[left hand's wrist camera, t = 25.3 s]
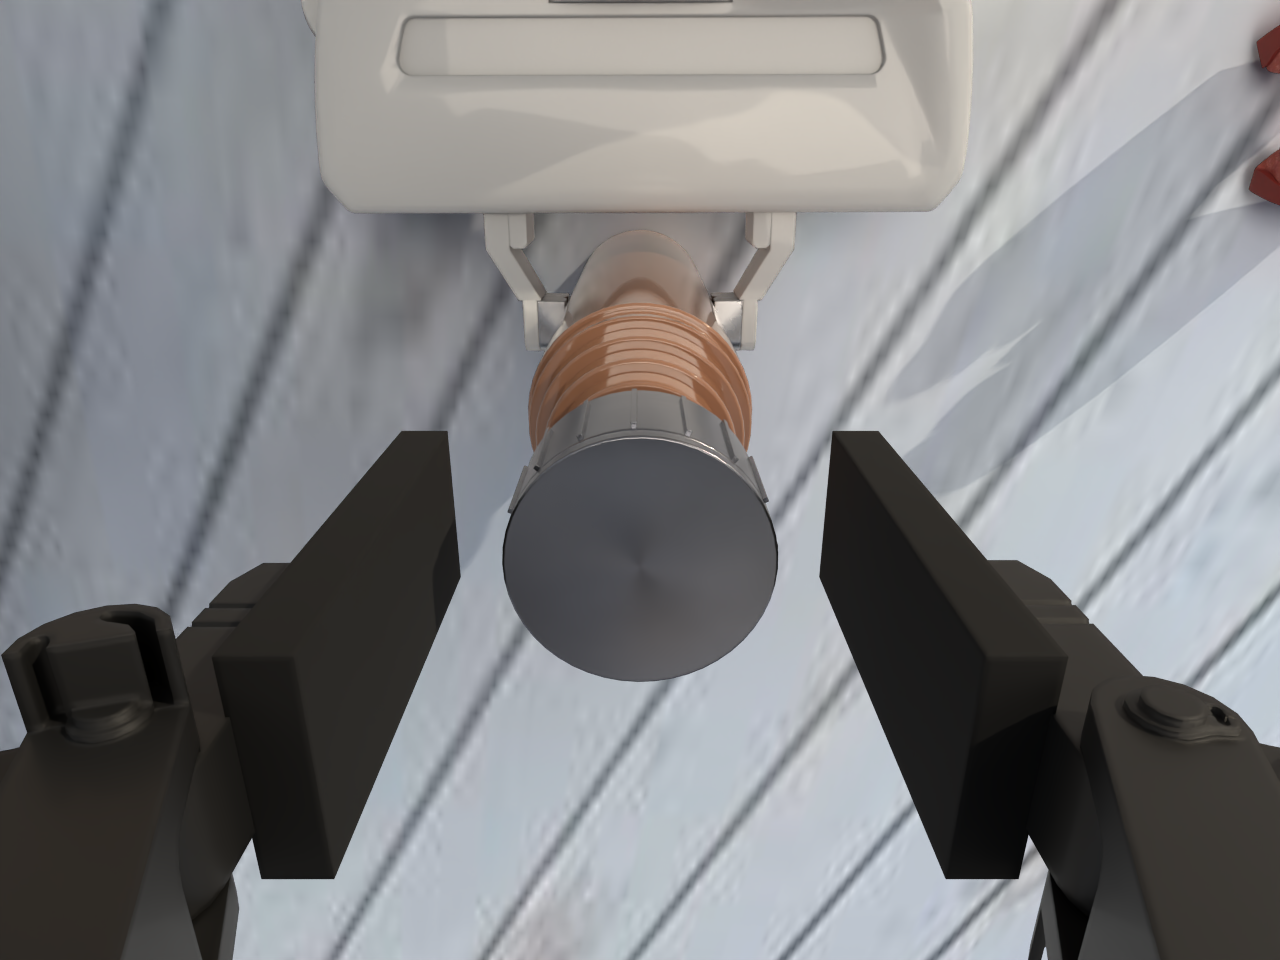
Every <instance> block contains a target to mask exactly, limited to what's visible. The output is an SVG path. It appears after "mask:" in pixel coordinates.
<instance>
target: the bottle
mask: <svg viewBox="0 0 1280 960" xmlns="http://www.w3.org/2000/svg"><path fill="white" fill-rule="evenodd" d="M632 389H637V390H645V391H658V392H663V393H668V394H672V395H676V396H679V397H681V395H683V396H686V399H687V400H690V401H692V402H694V403H696V404H698V405H700V406H702V407H704V408H705V409H707V410H708V411H710V412H711V413H713V414H714V415H716V416H717V417H718V418H719V419H720V420H721V421H722V420H723V419H724V420H726V421H727V423H728V426H729V428H730V429H731V431H732V432H733V433H734V434H735V435H736V437H737V438H738V439H739V441H740V442H741V444H742V446H743V447H744V449H745V450H746V453H747V450H748V446H749V441H750V436H751V422H752V421H751V420H752V400H751V392H750V388H749V383H748V380H747V377H746V374H745V371H744V368H743V366H742V364H741V362H740V360H739V358H738V356H737V354H736V351H735V349H734V347H733V345H732V343H731V341H730V339H729V337H728V334H727V332H726V330H725V328H724V326H723V324H722V322H721V320H720V317H719V315H718V313H717V311H716V309H715V307H714V305H713V303H712V300H711V298H710V296H709V294H708V292H707V290H706V288H705V286H704V283H703V281H702V279H701V277H700V275H699V273H698V271H697V269H696V267H695V265H694V263H693V261H692V259H691V257H690V256H689V255H688V253H687V252H686V251H685V250H684V249H683V248H682V247H681V246H680V245H679V244H678V243H677V242H675V241H674V240H672V239H671V238H669V237H667V236H665V235H663V234H660V233H657V232H654V231H648V230H633V231H627V232H623V233H620V234H617V235H615V236H613V237H611V238H609V239H608V240H606V241H605V242H603V243H602V244H601V245H600V246H599V247H598V248H597V249H596V250H595V251H594V252H593V253H592V255H591V256H590V257H589V259H588V261H587V263H586V265H585V267H584V269H583V271H582V273H581V275H580V277H579V279H578V282H577V284H576V286H575V288H574V290H573V292H572V294H571V297H570V299H569V301H568V303H567V305H566V307H565V309H564V311H563V314H562V316H561V318H560V320H559V322H558V324H557V326H556V328H555V331H554V333H553V335H552V337H551V339H550V341H549V343H548V345H547V348H546V350H545V352H544V354H543V356H542V358H541V360H540V363H539V365H538V367H537V370H536V372H535V375H534V377H533V380H532V385H531V389H530V393H529V403H528V416H529V434H530V439H531V445H532V449H533V452H535V450H536V448H537V446H538V445H539V443H540V442H541V440H542V439H543V436H544V433H545V430H546V429H547V428H548V427H550V428H552V427H553V426H554V425H555V423H557V422H558V421H559V420H560V419H561V418H563V417H564V416H565V415H566V414H567V413H569V412H571V411H572V410H574V409H575V408H577V407H579V406H580V405H582V404H583V403H584V401H585V400H587V399H588V400H589V401H591V400H593V399H595V398H598V397H602V396H605V395H608V394H612V393H618V392H624V391H632Z"/></svg>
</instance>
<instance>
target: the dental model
mask: <svg viewBox="0 0 1280 960" xmlns="http://www.w3.org/2000/svg"><path fill="white" fill-rule="evenodd" d="M1257 48H1258V52H1259V57H1260V61H1261V66H1262V68H1265V67H1266V68H1267V70H1268V71H1270V72H1273V73H1279V74H1280V25H1279V26H1277V27H1276V28H1274V29H1273V30H1271V31H1270V32H1269V33H1267V34H1266V35H1265V36H1263V37H1262V38H1261V39H1259V40H1258V41H1257ZM1249 190H1250V191H1251V192H1252V193H1254V194H1256V195H1258V196H1259V197H1261V198H1263V199H1265V200H1267V201H1270V202H1272V203H1275V204H1278V205H1280V149H1279V150H1277V151H1276V152H1274V153H1273V154H1272V155H1270V156H1269V157H1268V158H1267V159H1265V160H1264V161H1263V162H1262V163H1261V164H1259V165H1258V166H1257V167H1256V168H1255V170H1254V173H1253V177H1252V180H1251V183H1250V186H1249Z"/></svg>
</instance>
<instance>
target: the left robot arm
mask: <svg viewBox="0 0 1280 960" xmlns="http://www.w3.org/2000/svg"><path fill="white" fill-rule="evenodd" d="M460 577H461V575H460V564H459V553H458V542H457V531H456V520H455V509H454V498H453V487H452V476H451V465H450V454H449V443H448V432H447V431H401V432H400V434H399V435H398V436H397V437H396V438H395V440H394V441H393V442H392V443H391V444H390V445H389V447H388V448H387V449H386V450H385V451H384V453H383V454H382V455H381V456H380V457H379V458H378V460H377V461H376V462H375V463H374V464H373V466H372V467H371V468H370V469H369V470H368V472H367V473H366V474H365V475H364V476H363V477H362V479H361V480H360V481H359V482H358V483H357V485H356V486H355V487H354V488H353V489H352V491H351V492H350V493H349V494H348V495H347V496H346V498H345V499H344V500H343V501H342V502H341V504H340V505H339V506H338V507H337V508H336V509H335V511H334V512H333V513H332V514H331V515H330V517H329V518H328V519H327V520H326V521H325V523H324V524H323V525H322V526H321V527H320V528H319V530H318V531H317V532H316V533H315V534H314V536H313V537H312V538H311V539H310V540H309V542H308V543H307V544H306V545H305V546H304V547H303V549H302V550H301V551H300V552H299V553H298V555H297V556H296V557H295V558H294V559H293V560H292V562H291V563H263V564H261V565H259V566H257V567H255V568H254V569H252V570H250V571H248V572H247V573H245V574H243V575H241V576H240V577H238V578H236V579H234V580H232V581H231V582H229V583H228V585H227V586H226V587H225V588H224V589H223V590H222V591H221V592H220V593H219V594H218V595H217V596H216V597H215V598H214V599H213V600H212V601H211V603H210V604H209V608H205V609H204V610H203V611H202V612H201V613H200V614H199V615H198V616H197V617H196V618H195V619H194V621H193V622H192V627H187V628H186V629H185V630H184V631H183V632H182V633H181V634H180V635H179V636H178V637H177V638H176V639H175V635H174V631H173V627H172V622H171V618H170V616H169V615H168V614H166V613H165V612H163V611H162V610H160V609H159V608H157V607H151V606H145V605H139V604H125V605H109V606H103V607H98V608H94V609H89V610H85V611H80V612H75V613H73V614H70V615H67V616H64V617H62V618H59V619H56V620H54V621H51V622H48V623H46V624H43V625H41V626H40V627H38V628H36V629H34V630H33V631H31V632H29V633H27V634H26V635H24V636H22V637H20V638H19V639H17V640H16V641H15V642H14V643H13V644H12V645H11V646H10V647H9V648H8V649H7V650H6V651H5V652H4V653H3V654H2V655H1V656H2V659H3V662H4V665H5V668H6V671H7V674H8V677H9V680H10V683H11V686H12V689H13V692H14V695H15V698H16V700H17V703H18V706H19V709H20V712H21V715H22V718H23V721H24V724H25V727H26V730H27V734H26V736H25V738H24V740H23V742H22V744H21V745H20V747H19V748H15V749H10V750H5V751H0V960H232V959H233V951H234V944H235V936H236V929H237V921H238V913H239V904H238V897H237V891H236V887H235V883H234V878H233V874H232V872H233V870H234V869H235V867H236V865H237V863H238V862H239V860H240V858H241V856H242V854H243V853H244V851H245V849H246V847H247V846H248V844H249V842H250V840H251V838H252V839H253V844H254V848H255V852H256V857H257V861H258V866H259V870H260V875H261V879H334V878H335V876H336V874H337V871H338V869H339V866H340V864H341V862H342V859H343V857H344V854H345V852H346V850H347V847H348V845H349V842H350V840H351V838H352V835H353V833H354V831H355V828H356V826H357V823H358V821H359V819H360V816H361V814H362V811H363V809H364V807H365V804H366V802H367V799H368V797H369V795H370V792H371V790H372V788H373V785H374V783H375V780H376V778H377V776H378V773H379V771H380V768H381V766H382V764H383V761H384V759H385V756H386V754H387V752H388V749H389V747H390V745H391V742H392V740H393V737H394V735H395V733H396V730H397V728H398V725H399V723H400V721H401V718H402V716H403V713H404V711H405V709H406V706H407V704H408V702H409V699H410V697H411V694H412V692H413V690H414V687H415V685H416V682H417V680H418V678H419V675H420V673H421V670H422V668H423V666H424V663H425V661H426V659H427V656H428V654H429V651H430V649H431V647H432V644H433V642H434V639H435V637H436V635H437V632H438V630H439V627H440V625H441V623H442V620H443V618H444V616H445V613H446V611H447V608H448V606H449V604H450V601H451V599H452V596H453V594H454V592H455V589H456V587H457V584H458V582H459V580H460ZM819 577H820V580H821V582H822V584H823V587H824V589H825V592H826V594H827V596H828V599H829V601H830V604H831V606H832V608H833V611H834V613H835V616H836V618H837V620H838V623H839V625H840V627H841V630H842V632H843V635H844V637H845V639H846V642H847V644H848V647H849V649H850V651H851V654H852V656H853V659H854V661H855V663H856V666H857V668H858V670H859V673H860V675H861V678H862V680H863V682H864V685H865V687H866V690H867V692H868V694H869V697H870V699H871V702H872V704H873V706H874V709H875V711H876V713H877V716H878V718H879V721H880V723H881V725H882V728H883V730H884V733H885V735H886V737H887V740H888V742H889V745H890V747H891V749H892V752H893V754H894V756H895V759H896V761H897V764H898V766H899V768H900V771H901V773H902V776H903V778H904V780H905V783H906V785H907V788H908V790H909V792H910V795H911V797H912V799H913V802H914V804H915V807H916V809H917V811H918V814H919V816H920V819H921V821H922V823H923V826H924V828H925V831H926V833H927V835H928V838H929V840H930V842H931V845H932V847H933V850H934V852H935V854H936V857H937V859H938V862H939V864H940V866H941V869H942V871H943V874H944V876H945V878H946V879H1019V875H1020V870H1021V866H1022V861H1023V857H1024V852H1025V848H1026V844H1027V839H1028V835H1029V836H1030V838H1031V839H1032V841H1033V843H1034V845H1035V847H1036V848H1037V850H1038V852H1039V854H1040V855H1041V857H1042V859H1043V861H1044V862H1045V864H1046V866H1047V868H1048V869H1049V870H1048V874H1047V878H1046V883H1045V887H1044V891H1043V895H1042V899H1041V903H1040V907H1039V911H1038V916H1037V920H1036V924H1035V928H1034V932H1033V936H1032V940H1031V944H1030V951H1029V957H1028V960H1041V958H1042V954H1043V950H1044V948H1045V947H1046V949H1047V957H1048V960H1280V748H1279V747H1274V746H1269V745H1265V744H1261V743H1259V742H1258V740H1257V738H1256V736H1255V734H1254V733H1253V731H1252V730H1251V729H1250V728H1249V726H1248V725H1247V724H1246V723H1245V722H1244V721H1243V719H1242V718H1241V717H1240V716H1239V715H1238V714H1237V713H1236V712H1234V711H1233V710H1231V709H1230V708H1228V707H1227V706H1225V705H1224V704H1222V703H1221V702H1219V701H1218V700H1216V699H1215V698H1214V697H1211V696H1209V695H1207V694H1204V693H1202V692H1200V691H1197V690H1195V689H1193V688H1191V687H1188V686H1186V685H1183V684H1180V683H1176V682H1172V681H1168V680H1164V679H1160V678H1156V677H1148V676H1143V675H1142V674H1141V673H1140V672H1139V671H1138V670H1137V669H1136V668H1135V667H1134V666H1133V665H1132V664H1131V663H1130V662H1129V661H1128V660H1127V659H1126V658H1125V657H1124V656H1123V654H1122V653H1121V652H1120V651H1119V650H1118V649H1117V648H1116V647H1115V646H1114V645H1113V644H1112V643H1111V642H1110V641H1109V640H1108V639H1107V638H1106V637H1105V636H1104V635H1103V633H1102V632H1101V631H1100V630H1099V629H1098V628H1097V627H1096V626H1095V625H1094V624H1089V619H1088V618H1087V617H1086V616H1085V615H1084V614H1083V613H1082V611H1081V610H1080V609H1079V608H1078V607H1077V606H1076V605H1072V604H1071V600H1070V599H1069V598H1068V597H1067V596H1066V595H1065V594H1064V593H1063V592H1062V590H1061V589H1060V588H1059V587H1058V586H1057V585H1056V584H1055V583H1054V582H1053V581H1052V580H1051V579H1050V578H1048V577H1046V576H1044V575H1043V574H1041V573H1039V572H1037V571H1035V570H1034V569H1032V568H1030V567H1028V566H1026V565H1025V564H1023V563H1021V562H1019V561H1018V560H987V559H986V558H985V557H984V556H983V555H982V553H981V552H980V551H979V550H978V549H977V547H976V546H975V545H974V544H973V543H972V542H971V540H970V539H969V538H968V537H967V536H966V534H965V533H964V532H963V531H962V530H961V528H960V527H959V526H958V525H957V524H956V523H955V521H954V520H953V519H952V518H951V517H950V515H949V514H948V513H947V512H946V511H945V509H944V508H943V507H942V506H941V505H940V504H939V502H938V501H937V500H936V499H935V498H934V496H933V495H932V494H931V493H930V492H929V491H928V489H927V488H926V487H925V486H924V485H923V483H922V482H921V481H920V480H919V479H918V477H917V476H916V475H915V474H914V473H913V472H912V470H911V469H910V468H909V467H908V466H907V464H906V463H905V462H904V461H903V460H902V459H901V457H900V456H899V455H898V454H897V453H896V451H895V450H894V449H893V448H892V447H891V445H890V444H889V443H888V442H887V441H886V440H885V438H884V437H883V436H882V435H881V434H880V432H879V431H833V432H832V443H831V454H830V465H829V476H828V487H827V498H826V509H825V520H824V531H823V542H822V553H821V564H820V575H819Z"/></svg>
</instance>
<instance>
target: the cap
mask: <svg viewBox="0 0 1280 960" xmlns="http://www.w3.org/2000/svg"><path fill="white" fill-rule="evenodd" d="M766 502H769V500H768V497H767V495H766V492H765V489H764V486H763V484H762V481H761V478H760V475H759V473H758V470H757V467H756V465H755V462H754V459H753V457H752V456H750V457H748V455H747V453H746V450H745V449H744V447H743V446H742V444H741V442H740V441H739V439H738V438H737V437H736V435H735V434H734V433H733V432H732V431H731V429H730V428H729V426H728V423H727V421H726V420H724V419H723V420H722V421H721V420H720V419H719V418H718V417H717V416H716V415H714V414H713V413H711V412H710V411H708V410H707V409H705V408H704V407H702V406H700V405H698V404H696V403H694V402H692V401H690V400H687V399H686V396H683V395H681V397H679V396H676V395H672V394H668V393H663V392H658V391H645V390H637V389H632V391H624V392H618V393H612V394H608V395H605V396H602V397H598V398H595V399H593V400H591V401H589V400H588V399H587V400H585V401H584V403H583V404H582V405H580V406H579V407H577V408H575V409H574V410H572V411H571V412H569V413H567V414H566V415H565V416H564V417H563V418H561V419H560V420H559V421H558V422H557V423H555V425H554V426H553V427H552V428H550V427H548V428H547V429H546V430H545V433H544V436H543V439H542V440H541V442H540V443H539V445H538V446H537V448H536V450H535V452H534V454H533V456H532V458H531V460H530V462H529V465H528V467H527V466H524V468H523V471H522V473H521V476H520V479H519V482H518V484H517V487H516V490H515V493H514V495H513V498H512V501H511V504H510V506H509V509H508V513H511V517H510V520H509V523H508V526H507V529H506V532H505V538H504V543H503V558H502V565H503V573H504V580H505V584H506V588H507V591H508V595H509V597H510V600H511V602H512V604H513V607H514V609H515V611H516V612H517V614H518V616H519V617H520V619H521V621H522V622H523V624H524V625H525V627H526V628H527V629H528V630H529V631H530V633H531V634H532V635H533V636H534V637H535V638H536V639H537V640H538V641H539V642H540V643H541V644H542V645H543V646H544V647H545V648H546V649H547V650H549V651H550V652H551V653H553V654H554V655H555V656H557V657H558V658H560V659H561V660H563V661H565V662H567V663H568V664H570V665H572V666H574V667H576V668H578V669H581V670H583V671H585V672H588V673H591V674H594V675H598V676H601V677H604V678H610V679H615V680H620V681H634V682H645V681H659V680H665V679H672V678H676V677H679V676H683V675H687V674H690V673H692V672H695V671H697V670H700V669H702V668H705V667H706V666H708V665H710V664H712V663H714V662H716V661H718V660H719V659H721V658H722V657H723V656H725V655H726V654H728V653H729V652H731V651H732V650H733V649H734V648H735V647H736V646H738V645H739V644H740V643H741V642H742V641H743V640H744V639H745V638H746V637H747V636H748V634H749V633H750V632H751V631H752V630H753V629H754V627H755V626H756V624H757V623H758V621H759V620H760V618H761V617H762V615H763V614H764V612H765V609H766V607H767V605H768V603H769V601H770V599H771V596H772V593H773V589H774V586H775V582H776V576H777V570H778V544H777V540H776V534H775V531H774V527H773V524H772V520H771V517H770V514H769V512H768V509H767V506H766Z"/></svg>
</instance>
